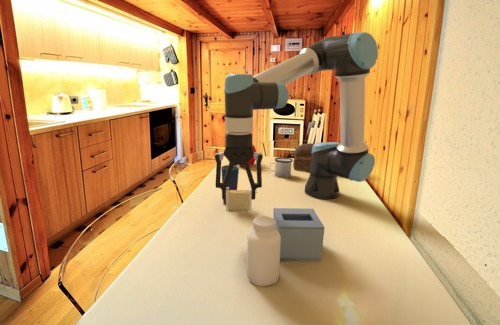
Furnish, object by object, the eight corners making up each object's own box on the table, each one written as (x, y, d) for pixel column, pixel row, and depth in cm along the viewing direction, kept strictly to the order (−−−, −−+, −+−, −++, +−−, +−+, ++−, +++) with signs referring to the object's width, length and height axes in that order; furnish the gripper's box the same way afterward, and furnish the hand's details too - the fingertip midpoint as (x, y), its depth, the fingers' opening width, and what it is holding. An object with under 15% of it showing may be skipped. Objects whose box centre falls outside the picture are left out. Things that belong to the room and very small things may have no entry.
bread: (295, 164, 178) (297, 139, 174) (349, 170, 167) (352, 143, 163) (290, 170, 164) (292, 143, 160) (348, 177, 154) (352, 148, 150)
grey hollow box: (310, 238, 89) (313, 208, 87) (321, 260, 78) (324, 227, 75) (272, 237, 89) (273, 208, 86) (277, 260, 77) (279, 226, 75)
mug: (291, 173, 156) (293, 157, 154) (291, 179, 147) (292, 162, 145) (270, 172, 158) (271, 156, 156) (268, 177, 149) (268, 160, 147)
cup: (235, 207, 110) (236, 170, 106) (218, 205, 112) (219, 168, 108) (239, 201, 117) (240, 165, 113) (223, 199, 118) (224, 164, 114)
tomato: (248, 169, 162) (248, 146, 158) (228, 165, 169) (229, 142, 165) (262, 164, 174) (263, 142, 171) (243, 160, 181) (244, 139, 178)
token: (248, 208, 86) (248, 190, 85) (248, 212, 84) (249, 193, 82) (228, 208, 86) (228, 190, 84) (228, 212, 84) (228, 193, 82)
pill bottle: (245, 267, 74) (246, 213, 70) (275, 266, 75) (278, 213, 71) (247, 287, 66) (249, 229, 62) (281, 286, 67) (285, 228, 63)
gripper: (271, 130, 83) (269, 203, 89) (205, 130, 82) (208, 204, 88) (274, 134, 76) (271, 214, 82) (202, 134, 75) (205, 215, 81)
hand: (238, 209), depth 85 cm, fingers closed on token, 6 cm apart
